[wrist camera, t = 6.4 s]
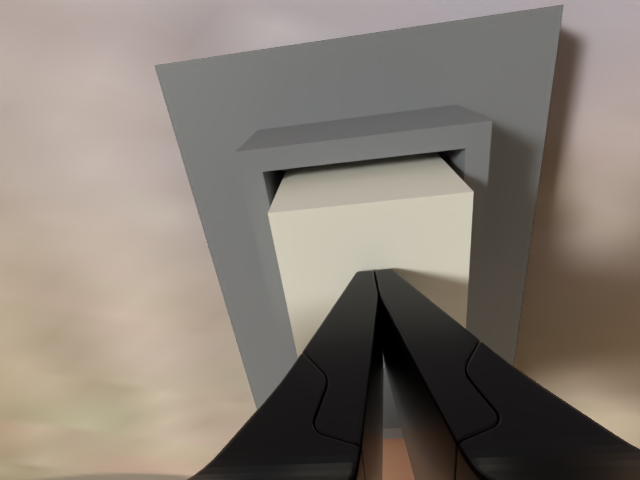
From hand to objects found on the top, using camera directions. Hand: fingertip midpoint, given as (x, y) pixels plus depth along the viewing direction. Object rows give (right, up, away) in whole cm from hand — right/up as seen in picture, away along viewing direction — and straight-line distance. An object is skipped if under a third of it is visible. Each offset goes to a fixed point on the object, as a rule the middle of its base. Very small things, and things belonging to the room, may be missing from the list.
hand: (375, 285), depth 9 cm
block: (+1, -2, +9) cm, 9 cm away
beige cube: (0, +2, +3) cm, 3 cm away
